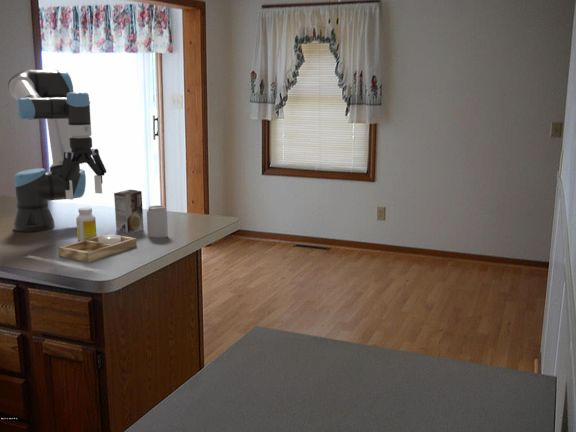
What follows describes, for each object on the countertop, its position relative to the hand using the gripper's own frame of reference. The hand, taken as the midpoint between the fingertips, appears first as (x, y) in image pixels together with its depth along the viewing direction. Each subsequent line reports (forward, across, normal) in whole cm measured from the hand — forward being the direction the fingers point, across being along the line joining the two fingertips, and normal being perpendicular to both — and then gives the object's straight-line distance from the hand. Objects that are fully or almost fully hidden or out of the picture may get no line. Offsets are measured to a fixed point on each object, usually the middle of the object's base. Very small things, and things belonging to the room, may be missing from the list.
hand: (84, 196), depth 216 cm
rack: (+18, -8, -14) cm, 24 cm away
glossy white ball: (+17, -3, -14) cm, 22 cm away
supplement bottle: (+18, 0, 0) cm, 18 cm away
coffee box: (+18, +20, -2) cm, 27 cm away
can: (+18, +19, -17) cm, 31 cm away
